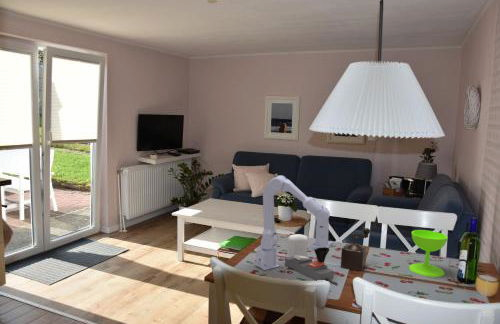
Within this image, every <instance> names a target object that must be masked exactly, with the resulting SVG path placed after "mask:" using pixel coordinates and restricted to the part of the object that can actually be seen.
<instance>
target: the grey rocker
mask: <svg viewBox="0 0 500 324" xmlns="http://www.w3.org/2000/svg"><path fill="white" fill-rule="evenodd" d="M307 257H308V256H307ZM307 257H305V256H297V255H294V258H295V259H297V260H303V261H304V260H309V258H310V257H308V258H307Z"/></svg>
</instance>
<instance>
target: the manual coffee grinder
mask: <svg viewBox="0 0 500 324" xmlns="http://www.w3.org/2000/svg"><path fill="white" fill-rule="evenodd" d="M362 233H363V235H362V236H357V233H353V234H352V235H353V236H352V238H353V242H352V243H350V244H349V243H346V244H345V245H344V246H343V247H342V248H341V254H340V255H341V256H340V268H342V269H348V270H353V271H357V272H362V271H363V270H364V269H365V268H366V264H367V263H366V260H367V246H363V245H362V244H361V245H360V244H358V243H356V242H357V241H356V239H367V238H369V234H370V233H371V229H370V228H367V227H364V228H362Z"/></svg>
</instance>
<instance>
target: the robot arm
mask: <svg viewBox="0 0 500 324" xmlns="http://www.w3.org/2000/svg"><path fill="white" fill-rule="evenodd" d="M279 191H282V192H285V193H286V192H288V193H290V194H292V196H294V197H295V198H297V200H299V201H300V202H302V206H303V208H304V209H306V211H308V212H309V213H310V214H311V215H313V216H315V217H314V218H315V220H316V224H315V241H314V243H312V244H310V245H308V250H309V251H311V252H312V251H314V253H315V256H316V259H317V260H318V261H319V262H321V263H322V262H324V263H325V260H326V258H327V256H328V254H329V252H330V247H335V242H334V241H333V240H329V232H330V231H329V229H330V227H329V226H330V224H329V223H330V222H329V218H330V215H331V212H330V210H329V209H328V208H327V207H325V206H324V205H321V204H320V203H319V202H318V201H317V199H316V198H315V197H312V196H307V195H306V194H305V193H304V192H302V190H300V189H299V187H297V186H296V185H295V184H294V182H292V181H291V180H290V179H288V178H287V177H286V176H285V175H282V174H281V175H280V174H279V175H277V176H276V177H273V178H271V179H270V180H269V181H267V184H266V186H265V188H264V189H263V191H262V204H263V205H262V207H263V208H262V209H263V211H262V212H263V231H262V234H261V235H262V237H261V240H260V245H261V248H259V249H258V250H256V253H255V264H254V265H255V267H258V268H259V269H262V270H263V271H267V270H271V269H275V268H279V267H280V266H281V265H280V264H278V263H277V251H278V250H277V248H278V246H277V243H278V241H279V236H278V234H277V229H276V226H275V199H274V198H275V197H274V196H275V195H276V194H277V193H278V192H279Z"/></svg>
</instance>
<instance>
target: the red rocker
mask: <svg viewBox="0 0 500 324" xmlns="http://www.w3.org/2000/svg"><path fill="white" fill-rule="evenodd" d="M323 265H325V261H324V262H322V263H321V262H319V261H318V260H314V261H312V263H310V264H308V266H310V267H312V268H318V267H321V266H323Z"/></svg>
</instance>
